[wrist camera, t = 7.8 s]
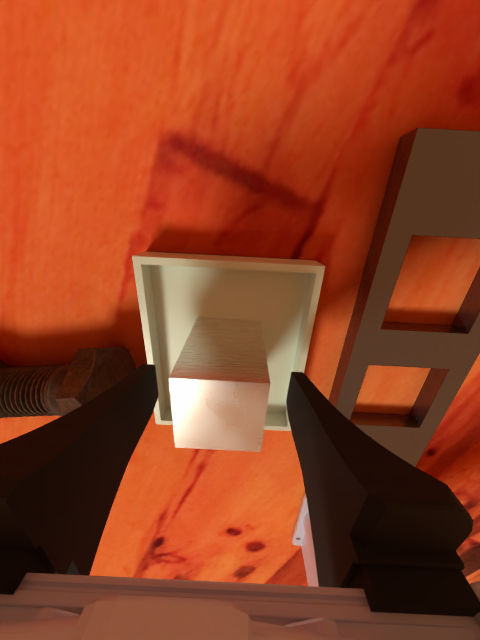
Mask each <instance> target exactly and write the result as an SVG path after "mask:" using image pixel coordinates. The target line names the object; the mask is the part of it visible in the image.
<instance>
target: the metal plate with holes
mask: <svg viewBox="0 0 480 640" xmlns="http://www.w3.org/2000/svg"><path fill="white" fill-rule="evenodd" d="M412 235H421V236H440V237H458V238H477V239H480V131H465V130H447V129H429V128H417V129H415V130H413V131H411V132H409V133H407V134H405V135H403V136H401V138H400V141H399V145H398V149H397V152H396V156H395V160H394V163H393V167H392V171H391V174H390V178H389V182H388V185H387V189H386V193H385V196H384V200H383V204H382V207H381V211H380V215H379V218H378V222H377V226H376V229H375V233H374V237H373V240H372V244H371V247H370V251H369V255H368V258H367V262H366V266H365V269H364V273H363V277H362V280H361V284H360V288H359V291H358V295H357V299H356V302H355V306H354V310H353V313H352V317H351V321H350V324H349V328H348V332H347V335H346V339H345V343H344V346H343V350H342V354H341V357H340V361H339V365H338V368H337V372H336V376H335V379H334V383H333V387H332V390H331V394H330V398H329V402H330V403H331V404H332V405H333V406H334V407H335V408H336V409H338V410H339V411H340V412H341V413H342V414H343V415H344V416H345V417H346V418H347V419H348V420H350V421H351V422H352V423H353V424H354V425H356V426H357V427H358V428H359V429H360V430H362V431H363V432H364V433H365V434H367V435H368V436H369V437H371V438H372V439H374V440H375V441H376V442H378V443H379V444H380V445H382V446H383V447H385V448H386V449H388V450H389V451H391V452H392V453H394V454H395V455H397V456H398V457H400V458H402V459H403V460H405V461H406V462H408V463H409V464H411V465H413V466H414V467H415V466H416V465H417V463H418V461H419V459H420V458H421V456H422V454H423V452H424V450H425V449H426V447H427V445H428V443H429V442H430V440H431V438H432V436H433V435H434V433H435V431H436V429H437V427H438V426H439V424H440V422H441V420H442V419H443V417H444V415H445V413H446V412H447V410H448V408H449V406H450V405H451V403H452V401H453V399H454V397H455V396H456V394H457V392H458V390H459V389H460V387H461V385H462V383H463V382H464V380H465V378H466V376H467V374H468V373H469V371H470V369H471V367H472V366H473V364H474V362H475V360H476V359H477V357H478V355H479V353H480V269H479V271H478V273H477V275H476V277H475V279H474V281H473V283H472V285H471V287H470V289H469V291H468V294H467V296H466V298H465V300H464V302H463V304H462V306H461V308H460V310H459V312H458V314H457V316H456V319H455V321H454V323H453V325H433V324H414V323H395V322H383V320H384V317H385V314H386V311H387V308H388V305H389V302H390V299H391V296H392V293H393V290H394V287H395V284H396V282H397V279H398V276H399V273H400V270H401V267H402V264H403V261H404V258H405V255H406V252H407V249H408V246H409V243H410V240H411V237H412ZM368 365H382V366H401V367H420V368H432V369H431V371H430V373H429V375H428V377H427V379H426V381H425V383H424V385H423V387H422V389H421V392H420V394H419V396H418V398H417V400H416V402H415V404H414V406H413V408H412V410H411V412H410V414H409V415H393V414H373V413H354V412H353V409H354V406H355V403H356V400H357V397H358V394H359V391H360V388H361V385H362V382H363V379H364V376H365V373H366V370H367V367H368Z"/></svg>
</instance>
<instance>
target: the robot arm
mask: <svg viewBox="0 0 480 640" xmlns="http://www.w3.org/2000/svg"><path fill="white" fill-rule="evenodd" d="M158 396H159V392H158V384H157V376H156V368H155V365H154V364H143V365H141V366H140V367H138V368H137V369H135V370H134V371H133V372H131V373H130V374H129V375H127V376H126V377H124V378H123V379H122V380H120V381H119V382H117V383H116V384H115V385H113V386H112V387H110V388H109V389H107V390H106V391H104V392H103V393H101V394H100V395H98V396H97V397H95V398H93V399H92V400H90V401H89V402H87V403H85V404H84V405H82V406H80V407H79V408H77V409H75V410H73V411H71V412H69V413H68V414H66V415H64V416H62V417H60V418H58V419H56V420H54V421H52V422H50V423H48V424H46V425H43V426H41V427H39V428H37V429H35V430H33V431H31V432H28V433H26V434H24V435H21V436H19V437H17V438H14V439H12V440H9V441H7V442H4V443H2V444H0V640H480V581H479V582H474V583H471V584H469V583H468V581H467V580H466V578H465V576H464V575H463V573H462V571H461V570H463V569H464V564H463V562H462V560H461V559H460V557H459V556H458V554H457V553H456V549H457V548H458V547H459V546H460V545H461V544H462V543H463V542H464V540H465V539H466V538H467V537H468V536H469V534H470V533H471V531H472V527H473V520H472V518H471V516H470V514H469V513H468V512H467V510H466V509H465V508H464V506H463V505H462V504H461V503H460V501H459V500H458V499H457V497H456V496H455V495H454V493H453V492H452V491H451V489H450V488H449V487H448V486H447V485H446V484H444V483H443V482H441V481H439V480H437V479H436V478H434V477H432V476H430V475H428V474H427V473H425V472H423V471H421V470H420V469H418V468H416V467H414V466H413V465H411V464H409V463H408V462H406V461H405V460H403V459H402V458H400V457H398V456H397V455H395V454H394V453H392V452H391V451H389V450H388V449H386V448H385V447H383V446H382V445H380V444H379V443H378V442H376V441H375V440H374V439H372V438H371V437H369V436H368V435H367V434H365V433H364V432H363V431H362V430H360V429H359V428H358V427H357V426H356V425H354V424H353V423H352V422H351V421H350V420H348V419H347V418H346V417H345V416H344V415H343V414H342V413H341V412H340V411H339V410H338V409H336V408H335V407H334V406H333V405H332V404H331V403H330V402H329V401H328V400H327V399H326V398H325V396H324V395H323V394H322V393H321V392H320V391H319V390H318V389H317V388H316V387H315V385H314V384H313V383H312V382H311V381H310V380H309V379H308V378H307V376H306V375H305V374H304V373H303V372H291V376H290V382H289V387H288V393H287V399H286V404H287V412H288V419H289V423H290V427H291V431H292V435H293V438H294V442H295V446H296V450H297V453H298V457H299V461H300V465H301V469H302V474H303V480H304V486H305V492H306V493H305V494H304V498H303V501H302V505H301V508H300V512H299V516H298V519H297V523H296V526H295V530H294V534H293V537H292V543H293V544H294V545H298V546H302V552H303V558H304V563H305V569H306V575H307V581H308V586H293V585H273V584H252V583H231V582H210V581H190V580H169V579H148V578H128V577H107V576H89V574H90V571H91V568H92V565H93V561H94V558H95V555H96V552H97V549H98V546H99V542H100V539H101V536H102V533H103V530H104V528H105V525H106V522H107V519H108V516H109V513H110V510H111V507H112V504H113V502H114V499H115V496H116V493H117V491H118V488H119V485H120V483H121V480H122V477H123V475H124V472H125V470H126V467H127V465H128V462H129V460H130V458H131V456H132V454H133V451H134V449H135V447H136V445H137V443H138V441H139V439H140V437H141V435H142V433H143V431H144V429H145V427H146V425H147V423H148V421H149V419H150V417H151V415H152V413H153V410H154V408H155V405H156V402H157V399H158Z"/></svg>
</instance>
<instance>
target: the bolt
mask: <svg viewBox="0 0 480 640" xmlns="http://www.w3.org/2000/svg"><path fill="white" fill-rule="evenodd" d="M135 369H136V368H135V365H134V362H133V359H132V357H131V356H130V354H129V353H128V352H127V350H126V349H125V348H124V347H110V348H93V349H78V350H77V352H76V354H75V356H74V358H73V361H72V363H69V364H64V365H50V366H47V365H46V366H31V367H15V368H9V367H8V366H6V365H5V364H4V363H3V362H2V361H0V418H3V417H6V418H7V417H24V416H52V415H58V416H64V415H66V414H68V413H69V412H71V411H73V410H75V409H77V408H79V407H80V406H82V405H84V404H85V403H87V402H89V401H90V400H92V399H93V398H95V397H97V396H98V395H100V394H101V393H103V392H104V391H106V390H107V389H109V388H110V387H112V386H113V385H115V384H116V383H117V382H119V381H120V380H122V379H123V378H124V377H126V376H127V375H129V374H130V373H131V372H133V371H134V370H135Z"/></svg>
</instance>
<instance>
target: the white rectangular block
mask: <svg viewBox="0 0 480 640" xmlns="http://www.w3.org/2000/svg"><path fill="white" fill-rule="evenodd" d="M169 387H170V398H171V408H172V419H173V430H174V441H175V447H178V448H197V449H215V450H234V451H253V452H261V449H262V442H263V434H264V427H265V420H266V412H267V405H268V398H269V391H270V377H269V371H268V365H267V358H266V352H265V345H264V339H263V333H262V326H261V321H259V320H242V319H224V318H207V317H197V319H196V321H195V323H194V325H193V328H192V330H191V332H190V334H189V336H188V338H187V340H186V342H185V344H184V347H183V349H182V351H181V353H180V355H179V357H178V359H177V361H176V363H175V366H174V368H173V370H172V372H171V374H170V376H169Z"/></svg>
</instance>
